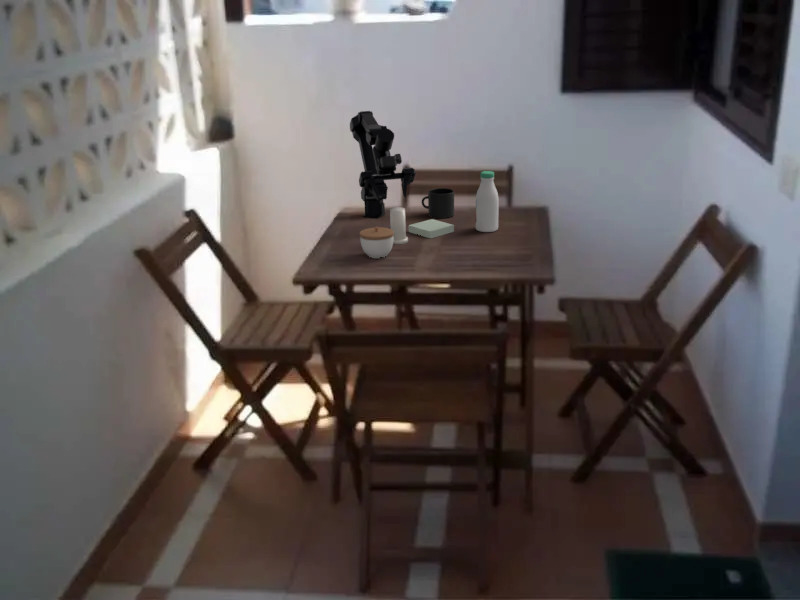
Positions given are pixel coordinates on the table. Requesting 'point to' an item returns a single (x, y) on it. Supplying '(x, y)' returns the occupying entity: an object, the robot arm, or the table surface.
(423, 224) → the block
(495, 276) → the table surface
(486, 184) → the milk bottle
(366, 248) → the lidded jar
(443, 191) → the mug
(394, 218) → the white rounded piece
